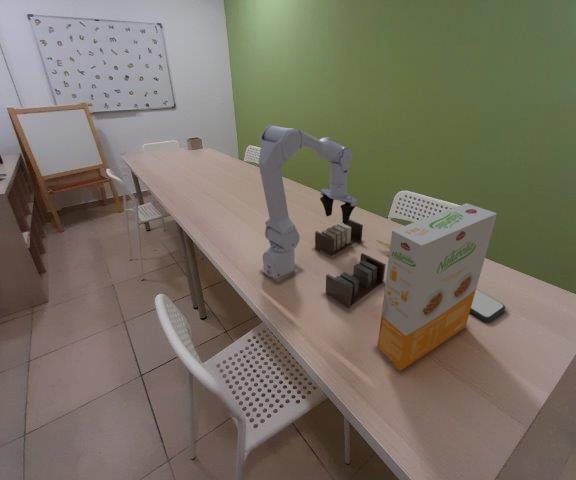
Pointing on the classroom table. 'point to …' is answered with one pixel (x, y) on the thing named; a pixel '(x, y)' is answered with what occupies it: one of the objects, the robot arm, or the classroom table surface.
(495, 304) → the phone case
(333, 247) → the dark brown rack
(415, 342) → the cereal box
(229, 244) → the classroom table surface
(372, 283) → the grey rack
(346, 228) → the white book
